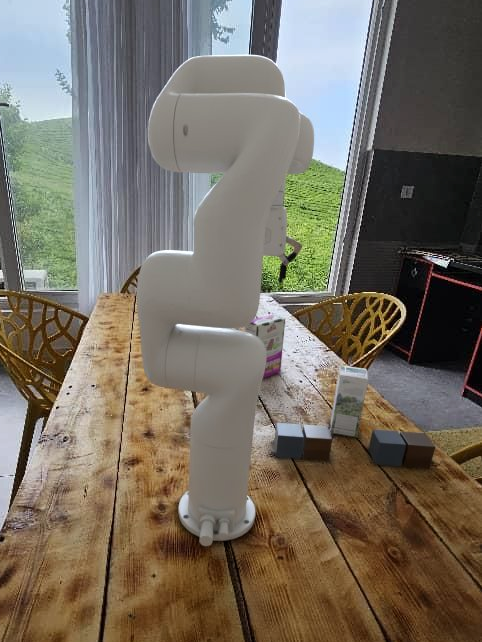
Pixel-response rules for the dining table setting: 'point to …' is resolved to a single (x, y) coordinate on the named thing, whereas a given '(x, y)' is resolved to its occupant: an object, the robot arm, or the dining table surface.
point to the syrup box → (348, 401)
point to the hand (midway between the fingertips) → (258, 280)
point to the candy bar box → (270, 340)
